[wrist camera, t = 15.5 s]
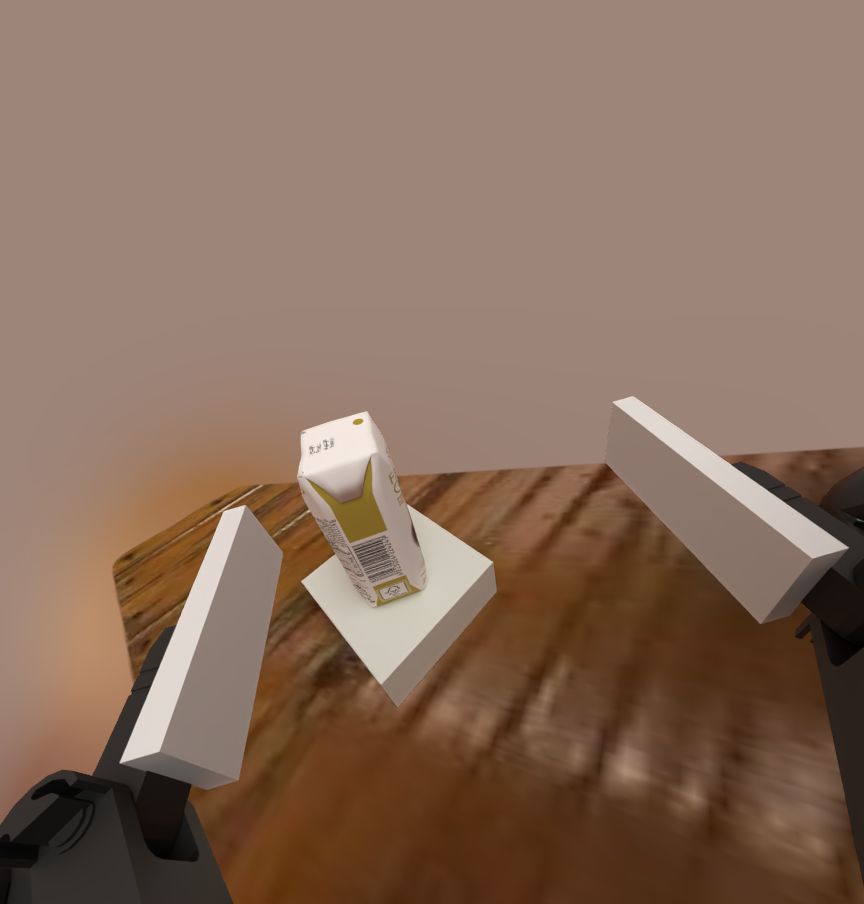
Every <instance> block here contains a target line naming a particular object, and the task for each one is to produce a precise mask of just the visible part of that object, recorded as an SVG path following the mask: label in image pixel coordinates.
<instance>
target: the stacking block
mask: <svg viewBox="0 0 864 904" xmlns="http://www.w3.org/2000/svg"><path fill="white" fill-rule="evenodd" d="M407 507H408V510H409V513H410V516H411V519H412V522H413V525H414V528H415V532H416V535H417V539H418V542H419V545H420V548H421V551H422V554H423V557H424V561H425V567H426V588H425V589H423V590H420V591H418V592H415V593H412V594H409V595H407V596H404V597H401V598H398V599H396V600H393V601H390V602H387V603H385V604H382V605H379V606H376V607H371V606H370V605H369V604H368V603H367V601H366V600H365V599H364V598H363V597H362V596H361V594H360V593H359V592H358V591H357V589H356V588H355V586H354V585H353V583H352V581H351V579H350V578H349V576H348V574H347V573H346V571H345V569H344V568H343V566H342V564H341V562H340V561H339V559H338V557H337V556H336V554H335V555H334V556H332V557H331V558H330V559H329V560H327V561H326V562H325V563H324V564H322V565H321V566H320V567H319V568H317V569H316V570H315V571H314V572H312V573H311V574H310V575H309V576H308V577H306V578H305V579H304V580H303V581H301V582H302V583H303V584H304V586H305V587H306V588H307V590H308V591H309V592H310V594H311V595H312V596H313V598H314V599H315V600H316V602H317V603H318V604H319V606H320V607H321V608H322V610H323V611H324V612H325V614H326V615H327V616H328V618H329V619H330V620H331V622H332V623H333V624H334V625H335V627H336V628H337V629H338V631H339V632H340V633H341V635H342V636H343V637H344V638H345V640H346V641H347V642H348V644H349V645H350V646H351V648H352V649H353V650H354V652H355V653H356V654H357V655H358V657H359V658H360V659H361V661H362V662H363V663H364V665H365V666H366V667H367V668H368V670H369V671H370V672H371V674H372V675H373V676H374V678H375V679H376V680H377V682H378V683H379V684H380V685H381V687H382V688H383V689H384V691H385V692H386V693H387V695H388V696H389V697H390V699H391V700H392V701H393V702H394V704H395V705H396V706H397V708H398V707H399V706H400V705H401V703H402V702H403V701H404V700H405V699H406V697H407V696H408V695H409V694H410V693H411V692H412V690H413V689H414V688H415V687H416V686H417V685H418V683H419V682H420V681H421V680H422V679H423V678H424V676H425V675H426V674H427V673H428V672H429V671H430V669H431V668H432V667H433V666H434V665H435V664H436V662H437V661H438V660H439V659H440V658H441V657H442V655H443V654H444V653H445V652H446V651H447V649H448V648H449V647H450V646H451V645H452V644H453V642H454V641H455V640H456V639H457V638H458V637H459V635H460V634H461V633H462V632H463V631H464V630H465V628H466V627H467V626H468V625H469V624H470V623H471V621H472V620H473V619H474V618H475V617H476V616H477V614H478V613H479V612H480V611H481V610H482V608H483V607H484V606H485V605H486V604H487V603H488V601H489V600H490V599H491V598H492V597H493V596H494V594H495V593H496V592H497V588H496V580H495V573H494V566H493V562H492V561H490V560H489V559H487V558H486V557H484V556H483V555H481V554H480V553H479V552H477V551H476V550H474V549H473V548H471V547H470V546H468V545H467V544H465V543H464V542H462V541H461V540H459V539H458V538H456V537H455V536H453V535H452V534H450V533H449V532H447V531H446V530H444V529H443V528H441V527H440V526H439V525H437V524H436V523H434V522H433V521H431V520H430V519H428V518H427V517H425V516H424V515H422V514H421V513H419V512H418V511H416V510H415V509H413V508H412V507H410V506H409V505H407Z"/></svg>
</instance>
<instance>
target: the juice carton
mask: <svg viewBox="0 0 864 904" xmlns="http://www.w3.org/2000/svg"><path fill="white" fill-rule="evenodd" d="M300 433H301V452H302V458H301V461H300V465H299V472H298V476H297V479H298V481H299V485H300V489H301V493H302V496H303V498H304V501H305V503H306V504H307V506H308V508H309V510H310V511H311V513H312V515H313V516H314V518H315V520H316V522H317V523H318V525H319V527H320V528H321V530H322V532H323V534H324V535H325V537H326V539H327V540H328V542H329V544H330V545H331V547H332V549H333V551H334V552H335V554H336V556H337V557H338V559H339V561H340V562H341V564H342V566H343V568H344V569H345V571H346V573H347V574H348V576H349V578H350V579H351V581H352V583H353V585H354V586H355V588H356V589H357V591H358V592H359V593H360V594H361V596H362V597H363V598H364V599H365V600H366V601H367V603H368V604H369V605H370V606H371V607H376V606H379V605H382V604H385V603H387V602H390V601H393V600H396V599H398V598H401V597H404V596H407V595H409V594H412V593H415V592H418V591H420V590H423V589H425V588H426V567H425V561H424V557H423V554H422V551H421V548H420V545H419V542H418V539H417V535H416V532H415V528H414V525H413V522H412V519H411V516H410V513H409V510H408V507H407V504H406V501H405V498H404V495H403V492H402V489H401V486H400V483H399V480H398V477H397V475H396V472H395V469H394V466H393V463H392V460H391V457H390V454H389V451H388V448H387V445H386V442H385V440H384V438H383V437H382V434H381V433H380V431H379V430H378V428H377V427H376V425H375V423H374V422H373V420H372V419H371V417H370V416H369V414H368V412H363V413H358V414H355V415H352V416H348V417H345V418H341V419H337V420H334V421H331V422H328V423H325V424H322V425H319V426H316V427H313V428H309V429H306V430H304V431H301V432H300Z"/></svg>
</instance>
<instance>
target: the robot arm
mask: <svg viewBox="0 0 864 904" xmlns="http://www.w3.org/2000/svg"><path fill="white" fill-rule="evenodd" d="M605 463H606V464H607V465H608V466H609V467H610V468H611V469H612V470H613V471H614V472H615V473H616V474H617V475H618V476H619V477H620V478H621V479H622V480H623V481H624V482H625V483H626V484H627V486H628V487H629V488H630V489H631V490H632V491H633V492H634V493H635V494H636V495H637V496H638V497H639V498H640V499H641V500H642V501H643V502H644V503H645V504H646V505H647V506H648V507H649V508H650V509H651V511H652V512H653V513H654V514H655V515H656V516H657V517H658V518H659V519H660V520H661V521H662V522H663V523H664V524H665V525H666V526H667V527H668V528H669V529H670V530H671V531H672V532H673V533H674V535H675V536H676V537H677V538H678V539H679V540H680V541H681V542H682V543H683V544H684V545H685V546H686V547H687V548H688V549H689V550H690V551H691V552H692V553H693V554H694V555H695V556H696V557H697V558H698V560H699V561H700V562H701V563H702V564H703V565H704V566H705V567H706V568H707V569H708V570H709V571H710V572H711V573H712V574H713V575H714V576H715V577H716V578H717V579H718V580H719V581H720V582H721V583H722V585H723V586H724V587H725V588H726V589H727V590H728V591H729V592H730V593H731V594H732V595H733V596H734V597H735V598H736V599H737V600H738V601H739V602H740V603H741V604H742V605H743V606H744V607H745V609H746V610H747V611H748V612H749V613H750V614H751V615H752V616H753V617H754V618H755V619H756V620H757V621H758V622H759V623H760V624H763V623H767V622H770V621H773V620H777V619H780V618H783V617H787V616H790V615H791V614H792V613H793V611H794V610H795V609H796V608H797V607H798V606H799V605H800V603H802V604H804V605H805V606H806V607H807V608H808V609H809V610H810V611H811V612H812V613H811V614H810V615H809V616H808V617H807V618H806V619H805V621H804V622H803V623H802V624H801V625H800V626H799V627H798V628H797V629H796V635H795V637H796V638H799V639H802V638H803V637H804V636H805V635H806V634H807V633H808V632H809V631H810V630H811V634H812V639H811V642H812V643H814V648H815V653H816V658H817V663H818V668H819V672H820V677H821V682H822V687H823V692H824V697H825V701H826V706H827V711H828V716H829V721H830V725H831V730H832V735H833V740H834V745H835V750H836V754H837V759H838V764H839V769H840V774H841V779H842V783H843V788H844V793H845V798H846V803H847V808H848V812H849V817H850V822H851V827H852V832H853V837H854V841H855V846H856V851H857V856H858V861H859V865H860V870H861V875H862V880H863V885H864V467H863V468H861V469H859V470H857V471H856V472H854V473H852V474H851V475H849V476H847V477H846V478H844V479H842V480H841V481H839V482H838V483H836V484H835V485H834V486H833V487H832V488H831V490H830V491H829V492H828V494H827V495H826V497H825V498H824V499H823V501H822V503H821V508H820V507H819V506H817V505H816V504H814V503H812V502H811V501H809V500H808V499H806V498H802V497H801V495H800V494H799V493H797V492H796V491H794V490H793V489H791V488H790V487H785V484H784V483H782V482H781V481H779V480H778V479H776V478H775V477H773V476H772V475H770V474H769V473H767V472H765V471H763V470H761V469H758V468H756V467H753V466H751V465H748V464H745V463H743V462H738V463H735V464H732V465H730V464H729V463H728V462H726V461H725V460H723V459H722V458H720V457H719V456H718V455H716V454H715V453H713V452H712V451H710V450H709V449H707V448H706V447H705V446H703V445H702V444H700V443H699V442H698V441H696V440H695V439H693V438H692V437H690V436H689V435H688V434H686V433H685V432H683V431H682V430H680V429H679V428H678V427H676V426H675V425H673V424H672V423H671V422H669V421H668V420H666V419H665V418H663V417H662V416H661V415H659V414H658V413H656V412H655V411H653V410H652V409H651V408H649V407H648V406H646V405H645V404H644V403H642V402H641V401H639V400H638V399H636V398H635V397H633V396H632V397H629V398H625V399H622V400H618V401H615V402H612V409H611V416H610V424H609V432H608V439H607V447H606V454H605ZM282 557H283V552H282V551H281V550H280V548H279V547H278V546H277V544H276V543H275V542H274V541H273V539H272V538H271V537H270V535H269V534H268V533H267V532H266V530H265V529H264V528H263V526H262V525H261V524H260V523H259V521H258V520H257V519H256V517H255V516H254V515H253V514H252V512H251V511H250V510H249V508H248V507H247V506H246V505H244V506H241V507H237V508H234V509H230V510H226V511H224V512H223V515H222V517H221V520H220V522H219V524H218V527H217V529H216V532H215V534H214V536H213V539H212V541H211V544H210V546H209V548H208V551H207V553H206V556H205V558H204V561H203V563H202V565H201V568H200V570H199V573H198V575H197V577H196V580H195V582H194V585H193V587H192V590H191V592H190V594H189V597H188V599H187V602H186V604H185V606H184V609H183V611H182V614H181V616H180V618H179V621H178V623H177V625H175V626H171V627H168V628H165V630H164V631H163V632H162V634H161V635H160V636H159V638H158V639H157V640H156V642H155V643H154V644H153V646H152V647H151V648H150V650H149V652H148V654H147V656H146V659H145V661H144V663H143V665H142V668H141V670H140V676H138V677H137V679H136V681H135V683H134V685H133V688H132V690H131V692H132V694H131V695H130V696H129V697H128V699H127V701H126V703H125V705H124V707H123V710H122V712H121V714H120V716H119V719H118V721H117V723H116V725H115V727H114V730H113V732H112V734H111V736H110V738H109V741H108V743H107V745H106V747H105V749H104V752H103V754H102V757H101V758H100V760H99V763H98V765H97V767H96V769H95V771H94V773H93V775H92V776H90V775H87V774H83V773H79V772H75V771H69V770H61V771H58V772H56V773H54V774H51V775H48V776H47V777H45V778H44V779H43V780H41V781H40V782H39V783H38V784H36V785H35V786H33V787H32V788H31V789H30V790H29V791H28V792H27V793H26V794H25V795H24V796H23V797H22V798H21V799H20V800H19V801H18V802H17V803H16V804H15V806H14V807H13V808H12V809H11V811H10V812H9V814H8V815H7V816H6V818H5V819H4V821H3V822H2V823H1V825H0V904H233V902H232V899H231V897H230V894H229V892H228V889H227V887H226V884H225V882H224V880H223V877H222V875H221V872H220V870H219V867H218V865H217V862H216V860H215V857H214V855H213V852H212V850H211V847H210V845H209V843H208V840H207V838H206V835H205V833H204V830H203V828H202V825H201V823H200V820H199V818H198V815H197V813H196V811H195V808H194V806H193V805H192V804H191V803H190V802H189V801H188V800H187V799H188V795H189V792H190V788H191V785H193V786H196V787H199V788H203V789H206V790H208V789H211V788H214V787H218V786H221V785H224V784H228V783H231V782H234V781H238V780H239V775H240V770H241V765H242V759H243V754H244V749H245V744H246V739H247V734H248V729H249V724H250V719H251V714H252V709H253V704H254V699H255V694H256V689H257V684H258V678H259V673H260V668H261V663H262V658H263V653H264V648H265V643H266V638H267V633H268V628H269V623H270V618H271V613H272V608H273V603H274V597H275V592H276V587H277V582H278V577H279V572H280V567H281V562H282Z"/></svg>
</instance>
